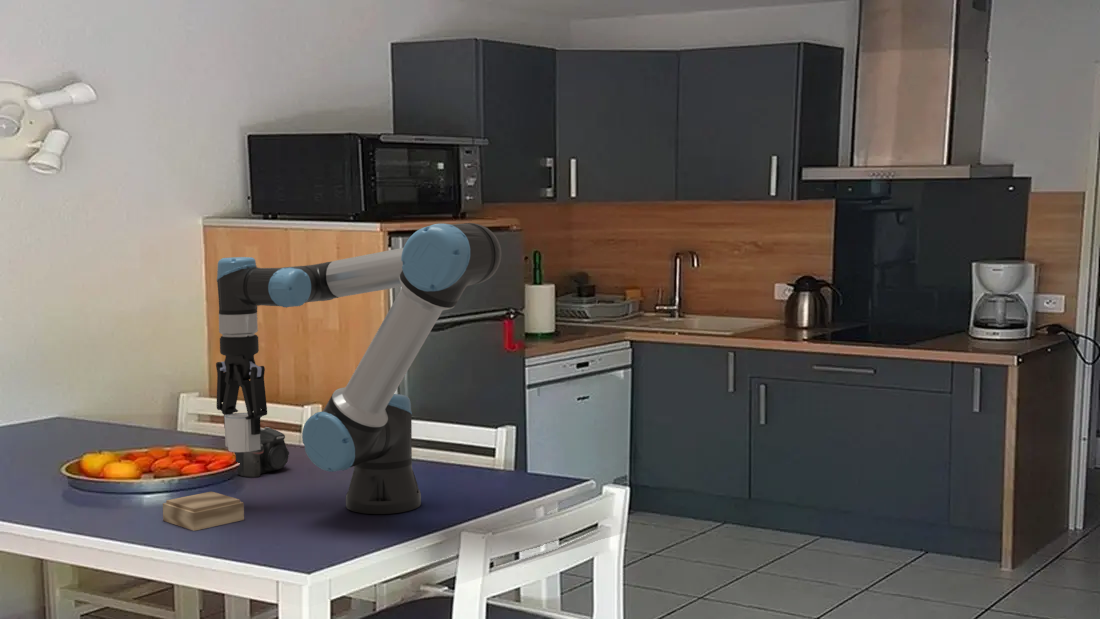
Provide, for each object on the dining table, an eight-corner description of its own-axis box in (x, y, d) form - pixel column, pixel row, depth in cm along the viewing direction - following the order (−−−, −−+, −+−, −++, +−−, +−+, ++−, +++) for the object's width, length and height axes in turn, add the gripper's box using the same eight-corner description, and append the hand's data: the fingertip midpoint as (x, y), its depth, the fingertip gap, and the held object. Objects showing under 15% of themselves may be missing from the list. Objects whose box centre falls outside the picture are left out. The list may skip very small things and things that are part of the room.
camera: (272, 479, 282) (271, 435, 281) (231, 477, 284) (230, 433, 283) (297, 466, 295) (296, 424, 294) (257, 464, 297) (256, 422, 296)
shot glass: (218, 451, 254) (216, 416, 253) (238, 445, 260) (237, 411, 259) (246, 453, 251) (245, 418, 250) (267, 447, 257) (266, 413, 257)
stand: (244, 519, 247) (243, 499, 247) (194, 530, 239) (193, 510, 239) (212, 510, 254) (212, 490, 254) (163, 520, 246) (162, 500, 246)
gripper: (283, 336, 250) (287, 451, 252) (227, 329, 263) (231, 439, 265) (251, 339, 244) (255, 457, 246) (195, 333, 257) (199, 444, 259)
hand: (242, 447), depth 256 cm, fingers closed on shot glass, 7 cm apart
